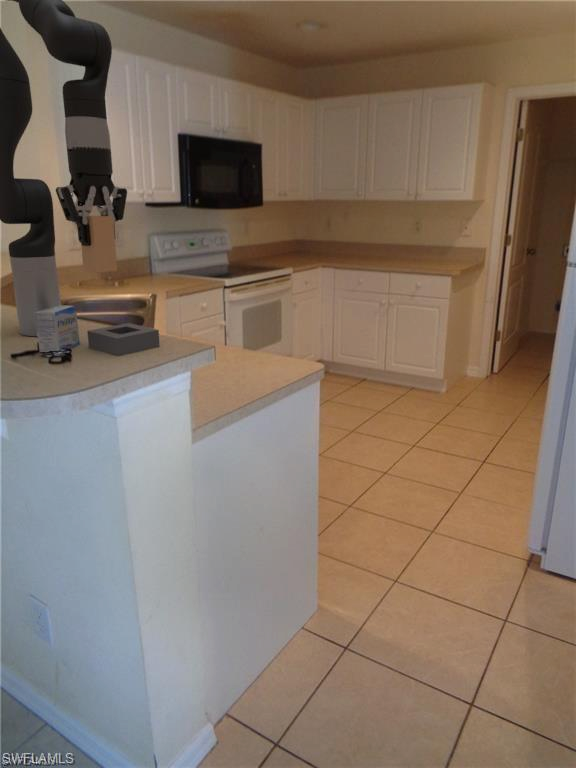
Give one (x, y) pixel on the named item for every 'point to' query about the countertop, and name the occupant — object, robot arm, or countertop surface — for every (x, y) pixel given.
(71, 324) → the medicine box
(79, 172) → the robot arm
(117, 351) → the gray square socket block
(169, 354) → the countertop surface
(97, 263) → the plug
